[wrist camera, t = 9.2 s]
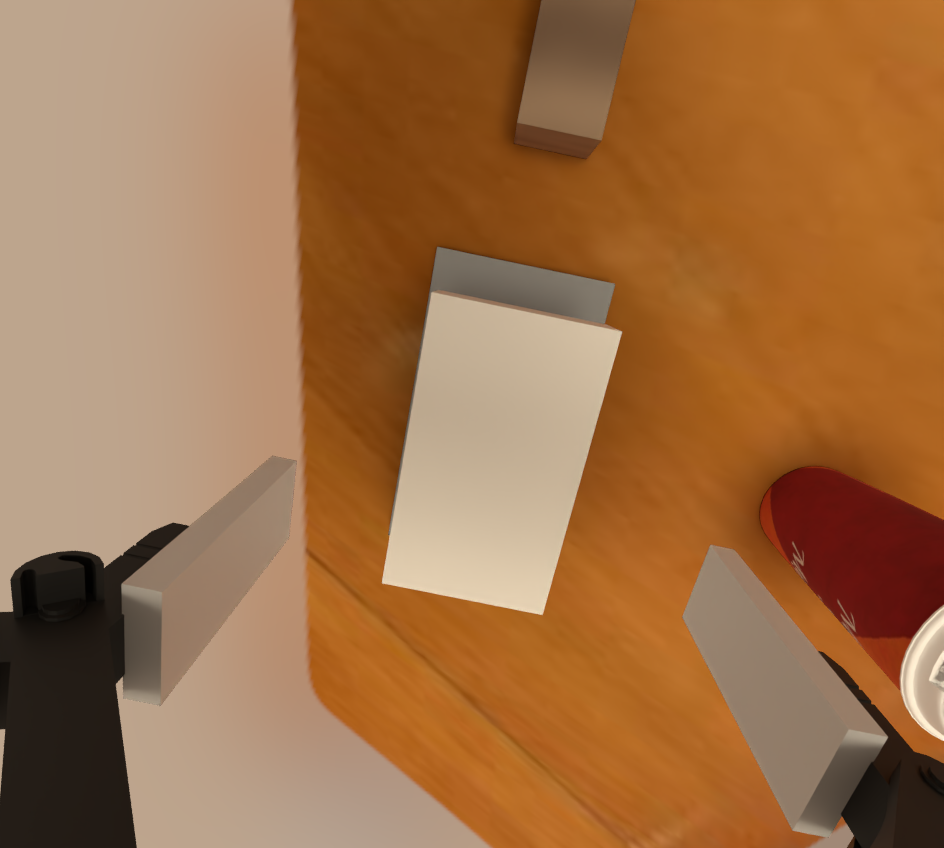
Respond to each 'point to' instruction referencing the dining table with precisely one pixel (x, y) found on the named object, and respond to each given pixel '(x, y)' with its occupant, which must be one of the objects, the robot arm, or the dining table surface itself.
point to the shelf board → (495, 449)
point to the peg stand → (515, 292)
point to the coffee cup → (870, 574)
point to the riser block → (572, 74)
